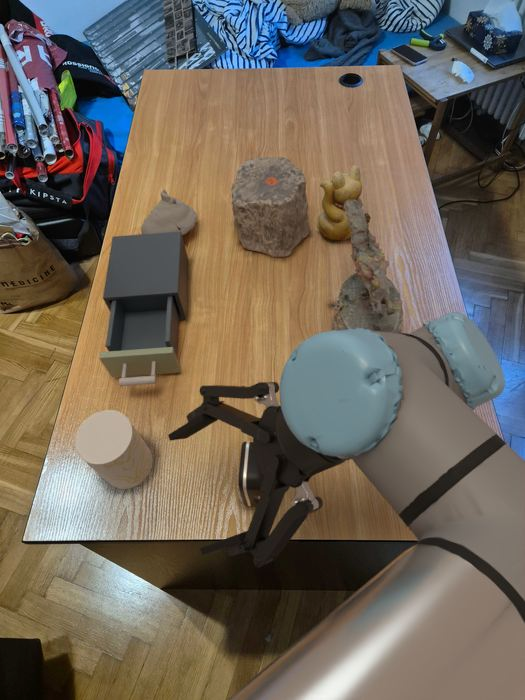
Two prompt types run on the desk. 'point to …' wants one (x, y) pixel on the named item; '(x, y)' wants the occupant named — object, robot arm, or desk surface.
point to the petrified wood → (270, 205)
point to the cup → (114, 449)
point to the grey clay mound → (169, 217)
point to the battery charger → (249, 475)
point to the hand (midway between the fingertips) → (192, 490)
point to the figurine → (367, 282)
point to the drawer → (142, 339)
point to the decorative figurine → (339, 203)
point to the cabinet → (148, 268)
